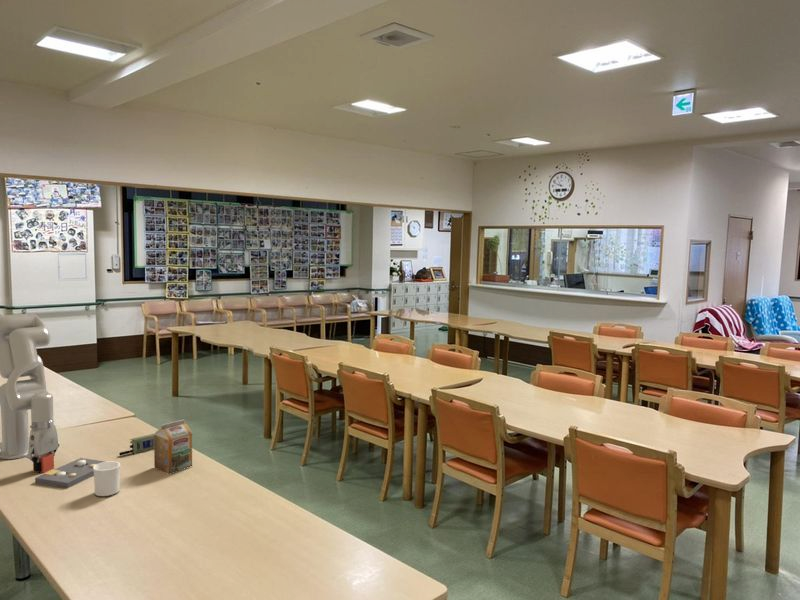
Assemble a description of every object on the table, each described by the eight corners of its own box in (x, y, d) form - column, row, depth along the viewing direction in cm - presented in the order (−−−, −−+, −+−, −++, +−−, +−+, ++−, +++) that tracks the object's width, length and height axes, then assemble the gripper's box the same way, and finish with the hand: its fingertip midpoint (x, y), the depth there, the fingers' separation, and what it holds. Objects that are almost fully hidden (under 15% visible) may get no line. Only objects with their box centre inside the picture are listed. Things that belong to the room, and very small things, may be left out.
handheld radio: (176, 444, 266) (121, 457, 247) (173, 442, 268) (118, 456, 249) (176, 430, 265) (121, 442, 246) (172, 428, 267) (117, 441, 249)
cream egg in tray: (54, 479, 222) (54, 474, 221) (61, 475, 225) (61, 471, 224) (61, 480, 221) (61, 475, 221) (67, 477, 224) (67, 472, 224)
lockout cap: (33, 471, 229) (32, 456, 229) (43, 467, 234) (43, 452, 233) (43, 473, 228) (43, 458, 227) (54, 468, 233) (53, 454, 232)
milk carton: (168, 474, 231) (168, 427, 229) (154, 467, 237) (154, 422, 235) (192, 466, 239) (192, 422, 237) (177, 460, 245) (177, 416, 244)
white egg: (74, 466, 231) (74, 462, 231) (81, 464, 234) (81, 459, 234) (81, 467, 230) (81, 463, 230) (87, 465, 233) (87, 460, 233)
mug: (109, 499, 206) (109, 471, 206) (87, 496, 208) (87, 469, 207) (129, 487, 217) (129, 460, 216) (108, 484, 219) (108, 458, 218)
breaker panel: (35, 482, 218) (35, 476, 218) (80, 462, 240) (80, 456, 239) (67, 488, 215) (67, 481, 215) (111, 467, 236) (111, 460, 236)
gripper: (31, 431, 220) (33, 478, 222) (67, 419, 237) (68, 462, 238) (16, 429, 222) (17, 475, 224) (52, 417, 238) (53, 460, 240)
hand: (43, 468), depth 231 cm, fingers closed on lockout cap, 4 cm apart
